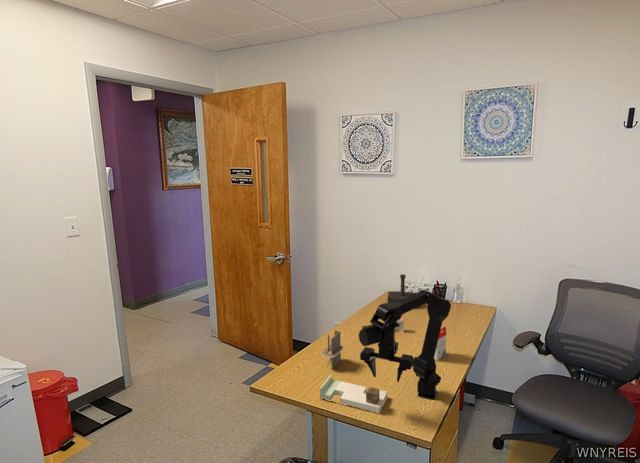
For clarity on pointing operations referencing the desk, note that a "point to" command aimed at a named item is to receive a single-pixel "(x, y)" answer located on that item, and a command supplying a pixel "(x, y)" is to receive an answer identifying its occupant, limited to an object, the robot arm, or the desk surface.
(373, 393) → the walnut block
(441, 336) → the ink box
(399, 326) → the model
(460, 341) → the desk surface
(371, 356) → the robot arm
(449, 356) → the desk surface
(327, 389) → the board
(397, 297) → the dark post stand
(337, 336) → the architectural model
